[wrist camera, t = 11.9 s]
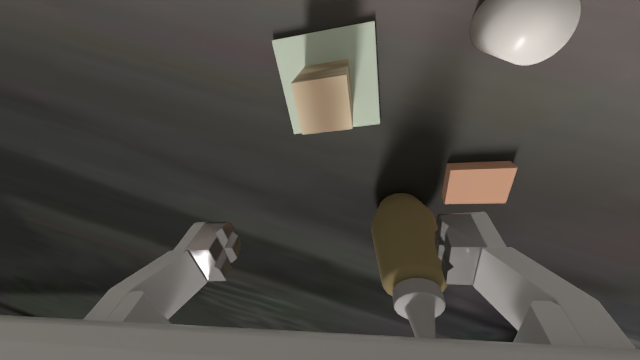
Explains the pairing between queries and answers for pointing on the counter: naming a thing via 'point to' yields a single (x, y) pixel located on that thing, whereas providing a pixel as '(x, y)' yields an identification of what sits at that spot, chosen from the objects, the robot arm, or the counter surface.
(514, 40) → the white rounded dome
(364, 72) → the mat
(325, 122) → the maple block
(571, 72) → the counter surface
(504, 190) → the terracotta tile
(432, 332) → the squeeze bottle
